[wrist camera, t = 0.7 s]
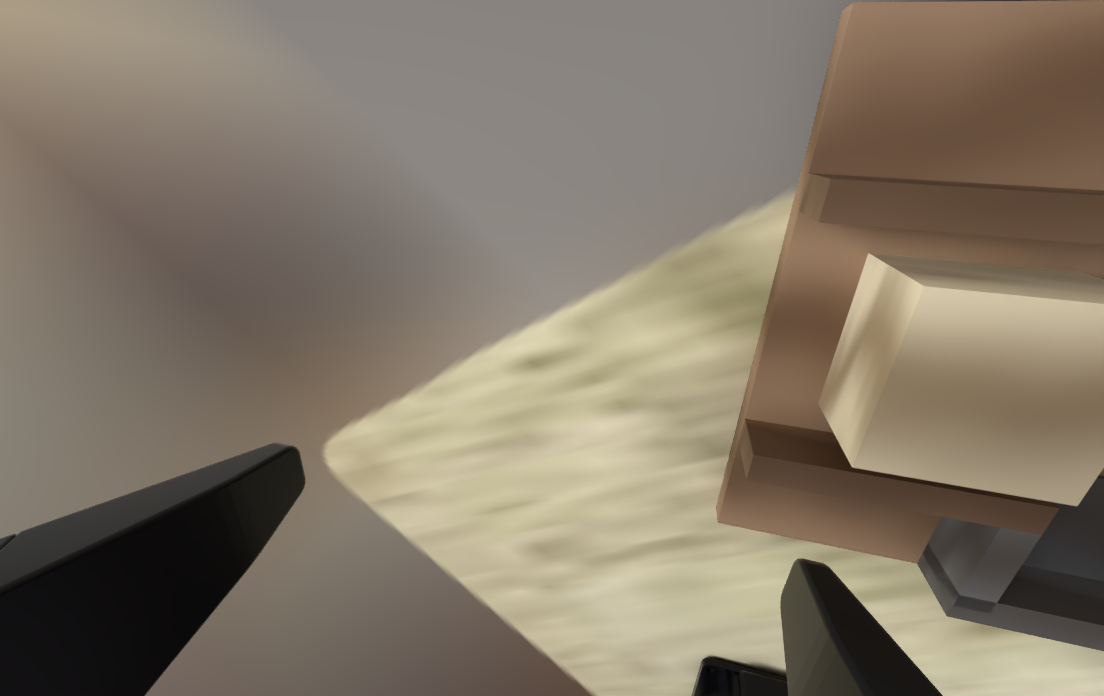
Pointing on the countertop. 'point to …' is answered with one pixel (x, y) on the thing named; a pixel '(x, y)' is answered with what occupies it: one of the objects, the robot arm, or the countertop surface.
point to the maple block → (972, 376)
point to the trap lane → (938, 233)
